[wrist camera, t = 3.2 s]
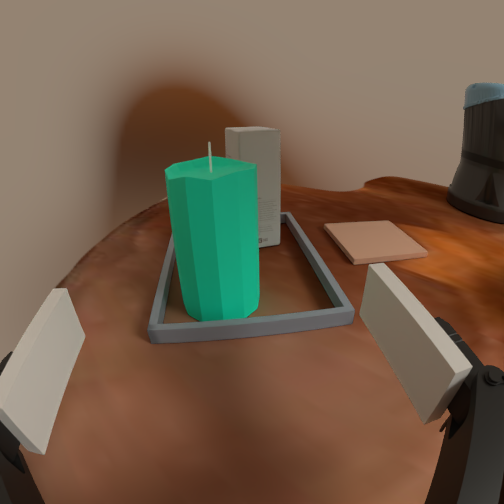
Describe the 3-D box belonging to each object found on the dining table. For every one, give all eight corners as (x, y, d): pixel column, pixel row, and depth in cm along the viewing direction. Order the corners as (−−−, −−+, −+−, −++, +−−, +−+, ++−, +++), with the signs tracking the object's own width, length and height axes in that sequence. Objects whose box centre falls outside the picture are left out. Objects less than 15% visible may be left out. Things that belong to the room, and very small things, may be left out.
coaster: (387, 224, 37) (388, 220, 37) (426, 256, 29) (427, 251, 29) (323, 228, 36) (324, 223, 36) (353, 264, 28) (354, 259, 28)
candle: (185, 283, 26) (168, 141, 21) (254, 277, 27) (250, 135, 22) (182, 327, 21) (154, 153, 16) (266, 320, 22) (264, 144, 16)
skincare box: (281, 245, 33) (282, 129, 27) (242, 251, 32) (237, 131, 26) (262, 225, 38) (260, 125, 32) (228, 230, 37) (223, 127, 31)
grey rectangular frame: (289, 220, 39) (289, 211, 38) (352, 323, 21) (355, 310, 20) (176, 229, 38) (175, 220, 37) (151, 343, 20) (147, 330, 19)
